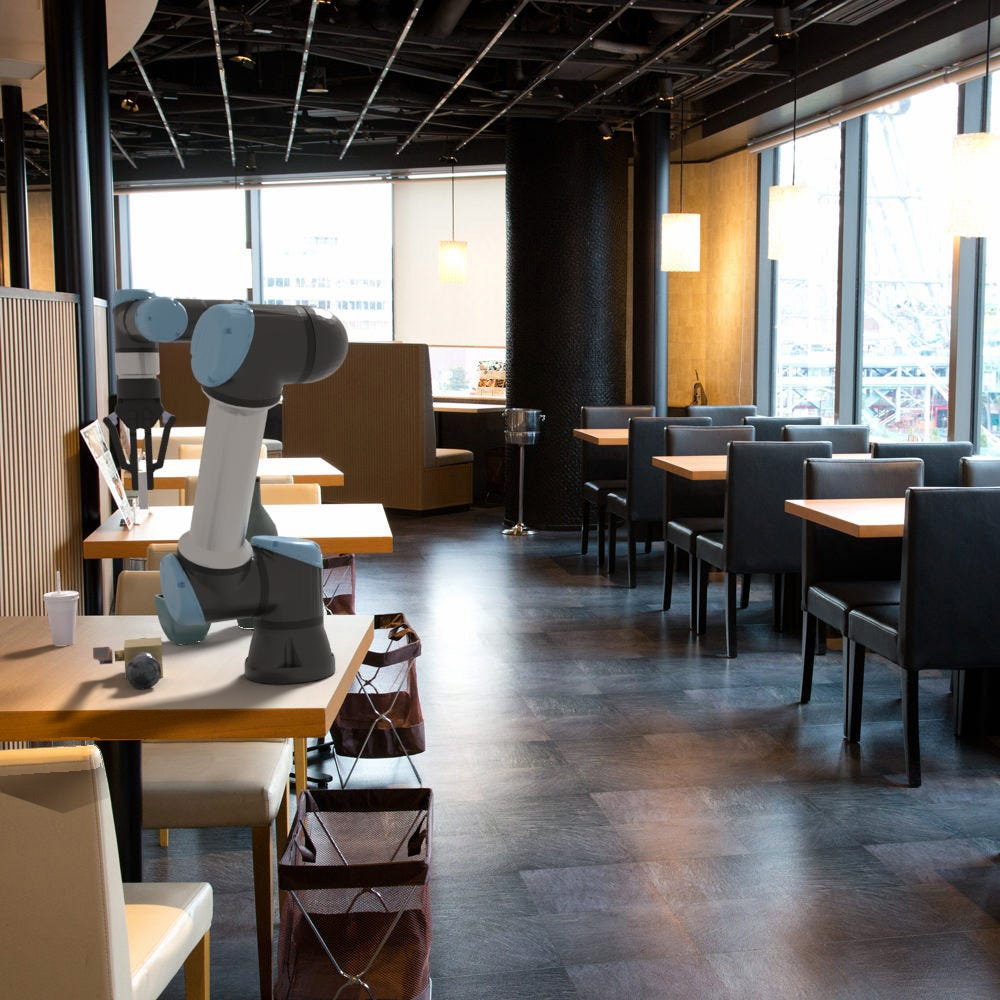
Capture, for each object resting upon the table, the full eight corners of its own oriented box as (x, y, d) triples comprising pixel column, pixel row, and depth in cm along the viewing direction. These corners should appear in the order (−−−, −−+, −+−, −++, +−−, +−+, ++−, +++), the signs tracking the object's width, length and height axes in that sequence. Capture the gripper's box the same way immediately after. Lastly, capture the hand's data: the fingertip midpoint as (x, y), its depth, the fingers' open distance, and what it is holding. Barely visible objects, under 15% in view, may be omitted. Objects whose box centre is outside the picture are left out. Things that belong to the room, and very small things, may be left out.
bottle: (227, 625, 241) (221, 477, 238) (267, 619, 247) (262, 474, 244) (249, 633, 234) (244, 480, 231) (290, 626, 240) (285, 476, 237)
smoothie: (38, 646, 224) (34, 573, 223) (61, 639, 230) (57, 567, 229) (66, 649, 222) (62, 574, 221) (88, 641, 228) (85, 568, 227)
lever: (98, 650, 202) (92, 645, 184) (113, 649, 202) (108, 643, 184) (99, 664, 202) (93, 660, 183) (113, 663, 202) (109, 659, 184)
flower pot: (170, 649, 221) (168, 601, 220) (155, 640, 228) (153, 594, 227) (216, 643, 226) (214, 596, 225) (200, 634, 233) (198, 589, 232)
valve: (116, 670, 205) (114, 639, 205) (162, 667, 208) (161, 636, 207) (114, 691, 192) (112, 658, 191) (163, 687, 194) (162, 654, 194)
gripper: (175, 376, 219) (180, 504, 222) (100, 377, 216) (106, 507, 218) (176, 376, 212) (181, 509, 215) (98, 377, 208) (105, 512, 211)
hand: (143, 508), depth 216 cm, fingers closed
